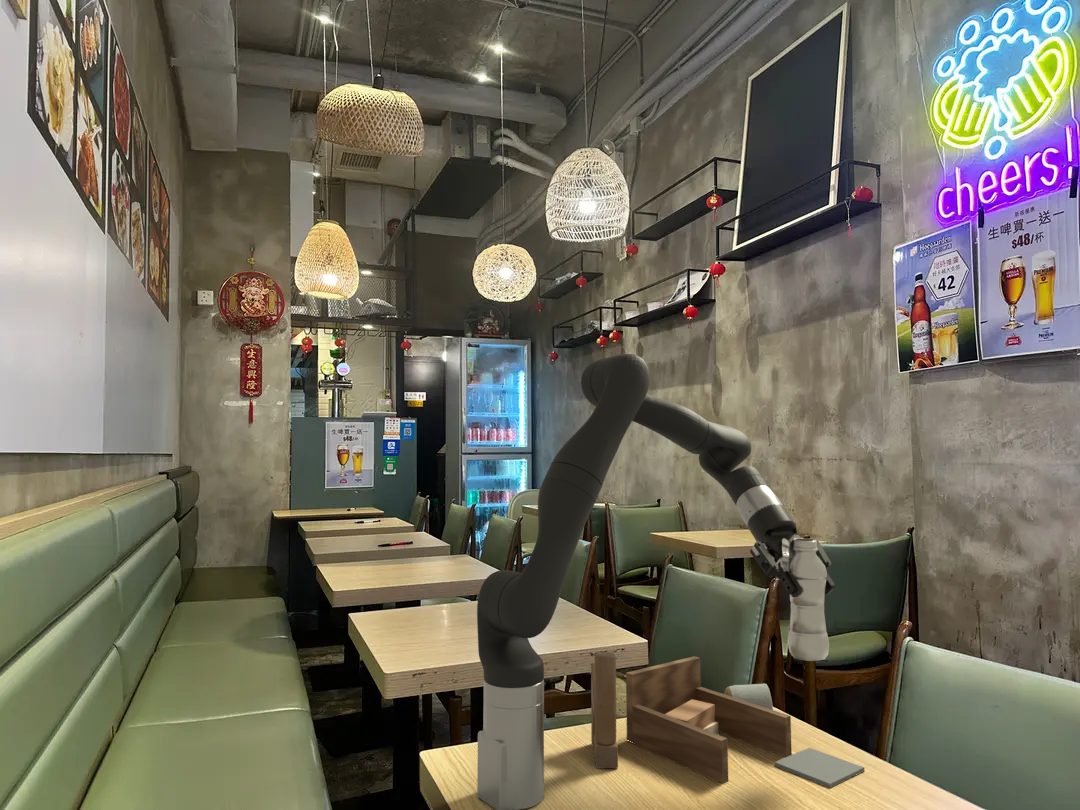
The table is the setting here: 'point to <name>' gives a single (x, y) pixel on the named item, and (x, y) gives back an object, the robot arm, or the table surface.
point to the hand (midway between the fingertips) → (814, 592)
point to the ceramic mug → (751, 694)
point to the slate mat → (819, 767)
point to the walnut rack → (687, 743)
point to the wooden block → (604, 710)
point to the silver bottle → (808, 604)
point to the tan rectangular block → (697, 715)
